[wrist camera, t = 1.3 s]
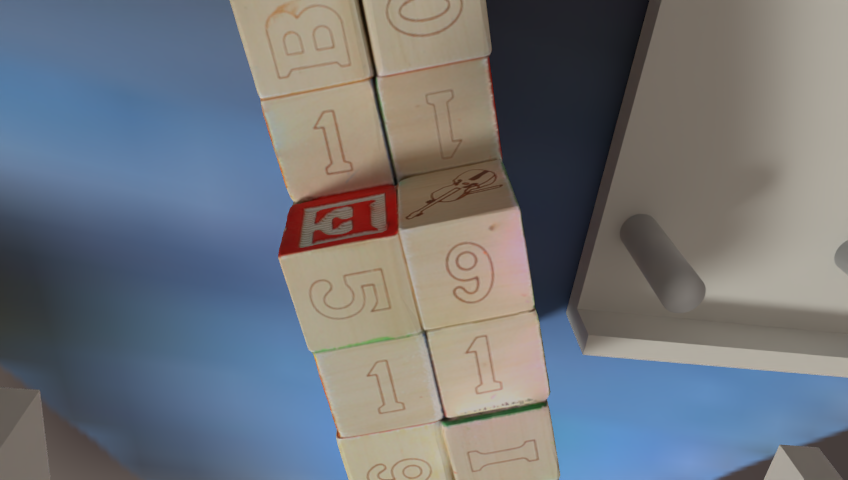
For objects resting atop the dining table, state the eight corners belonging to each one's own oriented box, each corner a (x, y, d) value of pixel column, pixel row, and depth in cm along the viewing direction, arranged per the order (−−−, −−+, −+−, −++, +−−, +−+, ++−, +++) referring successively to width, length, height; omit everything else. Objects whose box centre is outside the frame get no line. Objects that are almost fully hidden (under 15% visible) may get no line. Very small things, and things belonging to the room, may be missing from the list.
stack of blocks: (250, -155, 24) (138, -177, 13) (434, -192, 24) (475, -246, 13) (378, 356, 34) (375, 588, 23) (510, 333, 34) (571, 556, 23)
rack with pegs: (750, -378, 22) (873, -462, 16) (1128, -301, 23) (1359, -355, 18) (566, 313, 33) (602, 401, 28) (829, 337, 34) (914, 426, 29)
